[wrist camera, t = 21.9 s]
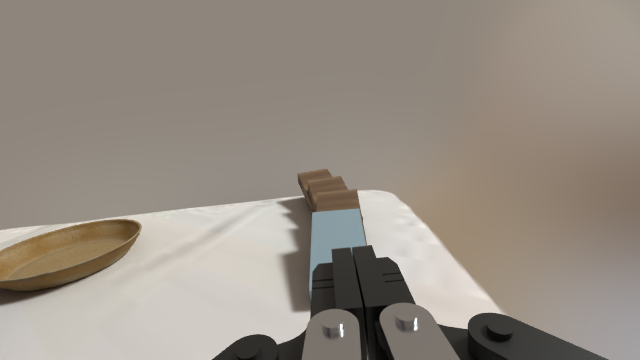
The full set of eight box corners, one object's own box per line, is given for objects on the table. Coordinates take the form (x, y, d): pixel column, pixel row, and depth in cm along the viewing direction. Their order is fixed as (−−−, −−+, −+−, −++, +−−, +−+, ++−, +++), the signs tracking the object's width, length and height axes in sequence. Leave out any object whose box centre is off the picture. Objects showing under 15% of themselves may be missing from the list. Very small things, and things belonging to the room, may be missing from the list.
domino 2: (362, 218, 36) (340, 176, 45) (321, 224, 36) (307, 180, 44) (362, 228, 37) (340, 185, 46) (322, 235, 36) (307, 190, 45)
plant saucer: (63, 240, 44) (58, 222, 43) (168, 232, 43) (164, 214, 42) (-65, 311, 29) (-77, 286, 29) (89, 300, 29) (80, 274, 28)
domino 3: (367, 246, 30) (356, 189, 38) (316, 250, 30) (317, 192, 38) (367, 259, 30) (357, 200, 39) (317, 262, 31) (318, 203, 39)
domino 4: (373, 286, 23) (359, 208, 32) (309, 290, 24) (312, 212, 32) (373, 301, 24) (359, 221, 33) (311, 304, 24) (313, 224, 33)
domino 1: (348, 201, 42) (327, 168, 51) (313, 208, 41) (297, 173, 50) (348, 211, 43) (327, 177, 51) (314, 218, 42) (298, 182, 50)
